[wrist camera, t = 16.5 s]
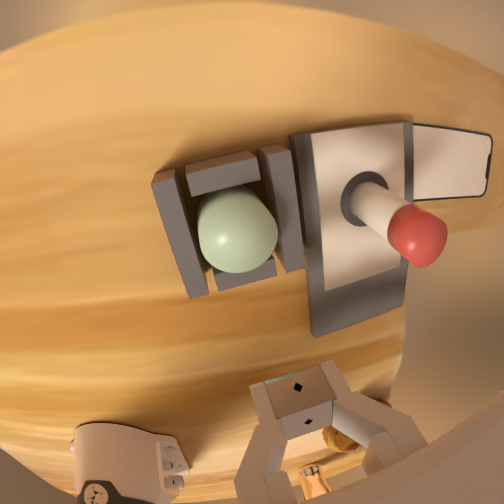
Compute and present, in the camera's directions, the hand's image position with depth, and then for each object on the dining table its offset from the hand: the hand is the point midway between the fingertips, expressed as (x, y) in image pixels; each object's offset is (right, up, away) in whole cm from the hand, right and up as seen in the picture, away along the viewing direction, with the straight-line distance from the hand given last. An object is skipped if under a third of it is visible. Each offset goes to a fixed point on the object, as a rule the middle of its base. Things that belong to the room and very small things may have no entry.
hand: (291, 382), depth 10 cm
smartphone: (+19, +14, +16) cm, 28 cm away
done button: (-3, +7, +13) cm, 15 cm away
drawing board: (+8, +6, +17) cm, 20 cm away
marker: (+8, +9, +14) cm, 18 cm away
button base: (-3, +7, +13) cm, 15 cm away
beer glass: (+11, -43, +44) cm, 63 cm away
